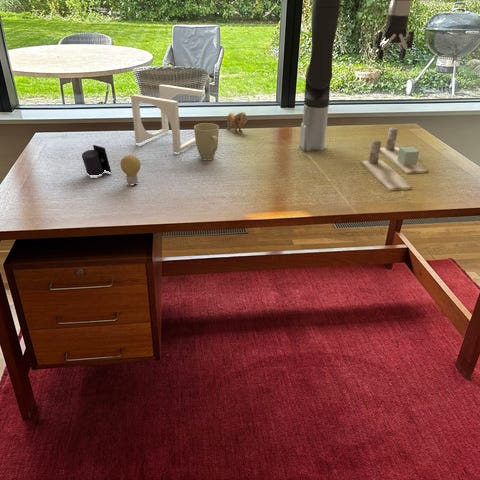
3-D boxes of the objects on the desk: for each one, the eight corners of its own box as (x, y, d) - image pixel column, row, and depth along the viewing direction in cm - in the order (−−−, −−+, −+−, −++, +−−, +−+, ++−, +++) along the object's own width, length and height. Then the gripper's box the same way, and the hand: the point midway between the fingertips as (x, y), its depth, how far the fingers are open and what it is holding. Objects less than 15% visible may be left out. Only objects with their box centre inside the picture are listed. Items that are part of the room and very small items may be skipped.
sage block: (403, 165, 175) (406, 152, 173) (397, 160, 179) (399, 147, 177) (416, 164, 176) (419, 151, 173) (409, 159, 180) (412, 146, 178)
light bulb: (145, 181, 165) (143, 153, 160) (136, 189, 160) (133, 160, 154) (129, 179, 166) (126, 151, 161) (119, 186, 161) (115, 158, 156)
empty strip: (389, 190, 159) (393, 165, 154) (360, 163, 179) (364, 139, 174) (412, 189, 160) (417, 163, 155) (381, 161, 180) (385, 138, 176)
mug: (190, 161, 181) (188, 129, 175) (201, 152, 189) (200, 121, 183) (216, 165, 178) (216, 133, 172) (227, 156, 186) (227, 125, 180)
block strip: (406, 173, 171) (411, 149, 166) (377, 149, 191) (381, 127, 186) (427, 172, 172) (432, 148, 167) (396, 148, 192) (400, 126, 188)
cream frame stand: (165, 131, 210) (161, 84, 200) (205, 139, 202) (203, 90, 192) (136, 146, 195) (130, 95, 184) (177, 154, 187) (174, 102, 176)
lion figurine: (250, 133, 209) (250, 112, 205) (240, 135, 206) (241, 114, 202) (228, 124, 219) (228, 104, 214) (219, 127, 216) (219, 106, 211)
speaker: (105, 168, 173) (98, 141, 167) (112, 174, 170) (106, 147, 163) (84, 175, 170) (77, 148, 164) (91, 182, 166) (84, 154, 160)
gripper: (384, 14, 174) (377, 62, 183) (421, 14, 177) (412, 61, 185) (376, 12, 181) (369, 58, 189) (411, 12, 183) (403, 57, 191)
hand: (390, 59), depth 187 cm, fingers open, 8 cm apart
